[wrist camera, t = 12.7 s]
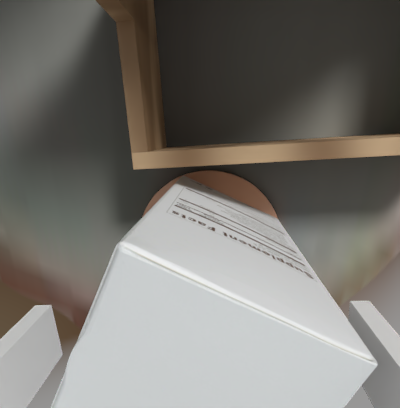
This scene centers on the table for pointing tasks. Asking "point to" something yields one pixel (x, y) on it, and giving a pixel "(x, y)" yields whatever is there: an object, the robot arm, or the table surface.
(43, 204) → the table surface
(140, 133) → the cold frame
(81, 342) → the supplement box
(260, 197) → the tan round disc
